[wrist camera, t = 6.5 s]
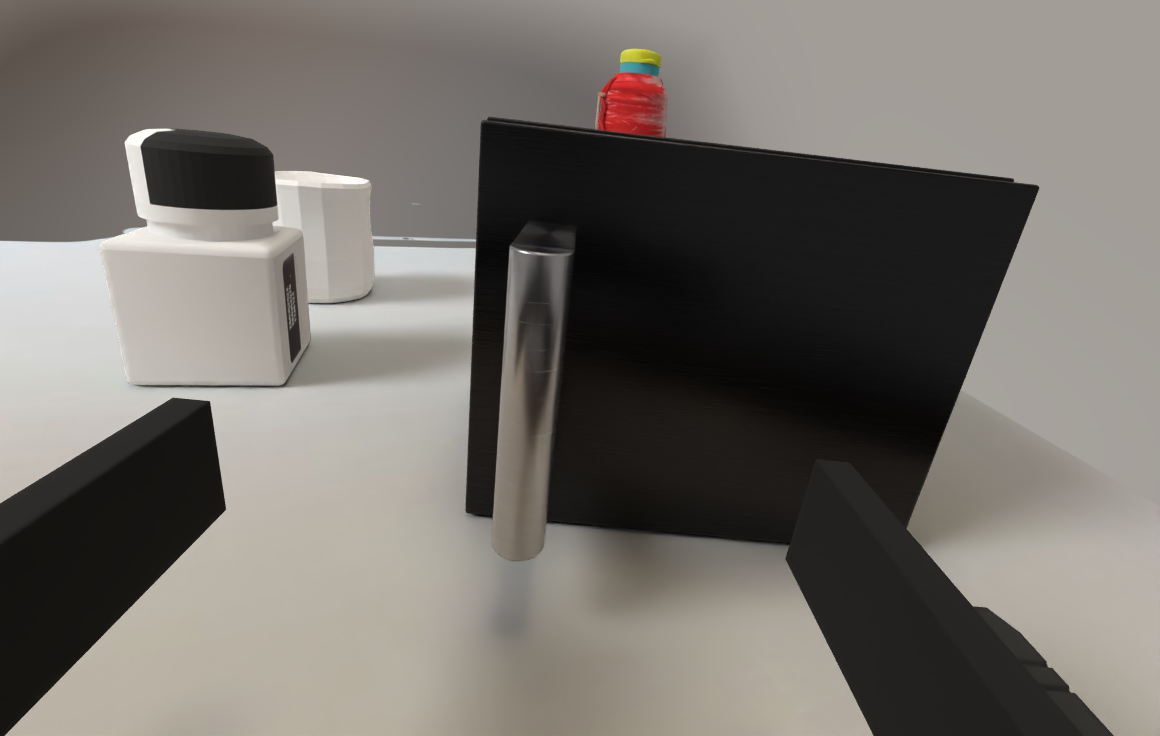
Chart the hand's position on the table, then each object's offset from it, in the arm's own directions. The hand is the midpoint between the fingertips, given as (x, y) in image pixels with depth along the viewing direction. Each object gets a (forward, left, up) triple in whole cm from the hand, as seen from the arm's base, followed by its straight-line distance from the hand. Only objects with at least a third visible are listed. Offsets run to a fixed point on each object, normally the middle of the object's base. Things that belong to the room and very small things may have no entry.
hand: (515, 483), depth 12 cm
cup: (+33, -29, -8) cm, 45 cm away
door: (-4, -8, -7) cm, 11 cm away
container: (+25, -13, -8) cm, 30 cm away
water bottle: (+15, -56, -8) cm, 59 cm away
